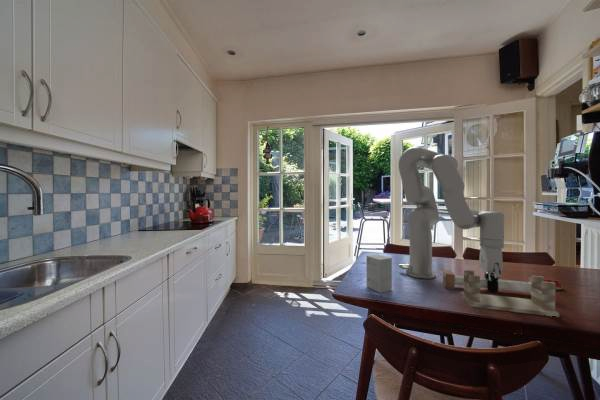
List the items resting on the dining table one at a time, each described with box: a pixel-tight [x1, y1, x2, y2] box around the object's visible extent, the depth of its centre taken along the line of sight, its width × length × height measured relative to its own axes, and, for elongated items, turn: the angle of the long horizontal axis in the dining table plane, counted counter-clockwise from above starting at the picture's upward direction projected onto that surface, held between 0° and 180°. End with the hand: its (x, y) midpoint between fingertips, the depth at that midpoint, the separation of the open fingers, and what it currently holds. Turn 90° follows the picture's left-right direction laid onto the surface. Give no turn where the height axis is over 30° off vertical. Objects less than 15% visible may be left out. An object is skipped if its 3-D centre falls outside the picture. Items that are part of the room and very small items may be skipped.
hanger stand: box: [461, 269, 560, 318], centre depth 85 cm, size 24×10×10 cm, turn 71°
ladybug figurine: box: [544, 277, 564, 291], centre depth 102 cm, size 7×10×4 cm
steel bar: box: [442, 269, 545, 295], centre depth 98 cm, size 32×6×6 cm, turn 71°
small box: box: [366, 253, 393, 294], centre depth 101 cm, size 8×6×13 cm
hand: (490, 289), depth 98 cm, fingers closed on steel bar, 3 cm apart
